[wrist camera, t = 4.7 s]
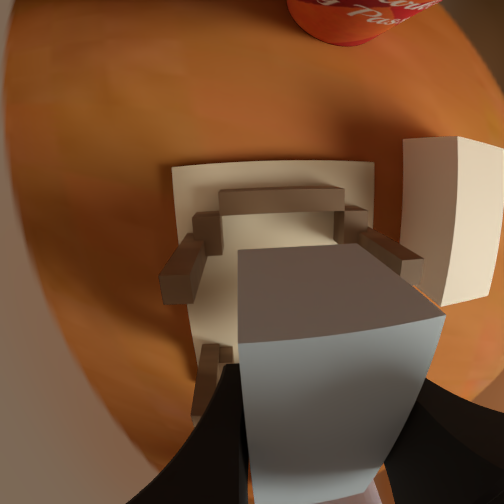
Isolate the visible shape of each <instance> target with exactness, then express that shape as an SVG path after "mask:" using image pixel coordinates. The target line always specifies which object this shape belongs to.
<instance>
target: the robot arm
mask: <svg viewBox="0 0 504 504" xmlns="http://www.w3.org/2000/svg"><path fill="white" fill-rule="evenodd" d="M248 463H249V451H248V442H247V433H246V424H245V414H244V405H243V395H242V385H241V374H240V363H234V364H226V365H225V366H223V370H222V373H221V376H220V379H219V382H218V384H217V387H216V389H215V391H214V394H213V396H212V398H211V400H210V402H209V404H208V406H207V408H206V410H205V411H204V413H203V415H202V417H201V418H200V420H199V422H198V423H197V425H196V427H195V428H194V430H193V432H192V433H191V435H190V436H189V437H188V439H187V440H186V442H185V443H184V445H183V446H182V447H181V449H180V450H179V451H178V452H177V454H176V455H175V456H174V457H173V459H172V460H171V461H170V462H169V463H168V464H167V465H166V467H165V468H164V469H163V470H162V471H161V472H160V473H159V474H158V475H157V476H156V477H155V478H154V479H153V481H151V482H150V483H149V484H148V485H147V486H146V487H145V488H144V489H142V490H141V491H140V492H139V493H138V494H137V495H136V496H134V497H133V498H132V499H131V500H130V501H128V502H127V503H126V504H248ZM384 465H385V468H386V471H387V474H388V477H389V481H390V485H391V488H392V493H393V497H394V501H395V504H504V413H502V412H498V411H495V410H492V409H489V408H485V407H483V406H480V405H477V404H475V403H472V402H470V401H468V400H465V399H463V398H461V397H459V396H457V395H455V394H453V393H451V392H449V391H447V390H445V389H443V388H442V387H440V386H438V385H436V384H435V383H433V382H431V381H430V380H428V379H427V378H425V380H424V382H423V385H422V387H421V390H420V392H419V394H418V397H417V399H416V401H415V403H414V406H413V408H412V410H411V412H410V414H409V416H408V418H407V420H406V422H405V424H404V426H403V428H402V430H401V432H400V434H399V436H398V438H397V440H396V442H395V443H394V445H393V447H392V449H391V451H390V452H389V454H388V456H387V457H386V459H385V461H384ZM314 504H382V503H381V500H380V497H379V494H378V492H377V489H376V486H375V483H374V481H373V480H372V481H371V483H370V484H369V486H368V487H367V489H366V490H365V492H363V493H359V494H356V495H352V496H348V497H344V498H339V499H335V500H330V501H325V502H320V503H314Z"/></svg>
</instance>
